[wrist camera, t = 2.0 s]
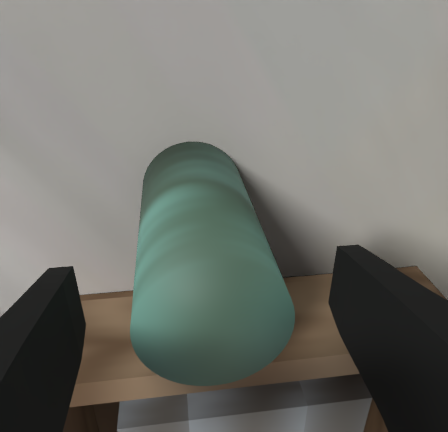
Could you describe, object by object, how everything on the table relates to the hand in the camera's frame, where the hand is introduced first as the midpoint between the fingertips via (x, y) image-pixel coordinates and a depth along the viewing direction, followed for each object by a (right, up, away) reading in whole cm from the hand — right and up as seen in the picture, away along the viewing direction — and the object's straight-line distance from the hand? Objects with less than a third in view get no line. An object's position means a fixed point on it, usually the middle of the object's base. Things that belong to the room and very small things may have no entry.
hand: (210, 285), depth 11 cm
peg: (-1, +3, +6) cm, 6 cm away
